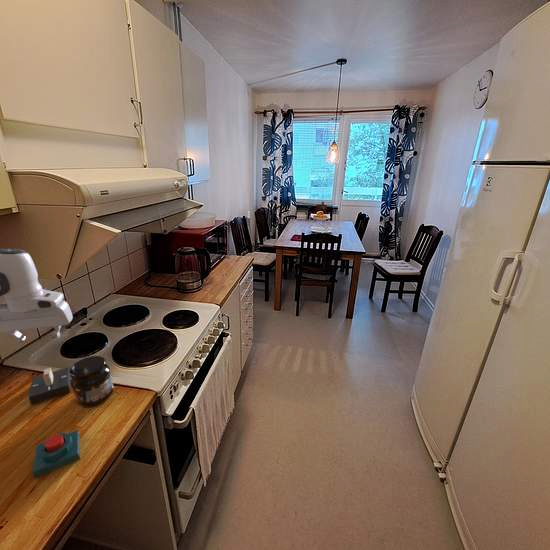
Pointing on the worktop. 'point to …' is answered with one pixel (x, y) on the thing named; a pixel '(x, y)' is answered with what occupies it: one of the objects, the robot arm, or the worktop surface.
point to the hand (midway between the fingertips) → (39, 338)
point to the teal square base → (57, 454)
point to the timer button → (54, 443)
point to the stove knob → (48, 376)
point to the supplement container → (91, 381)
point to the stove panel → (50, 386)
